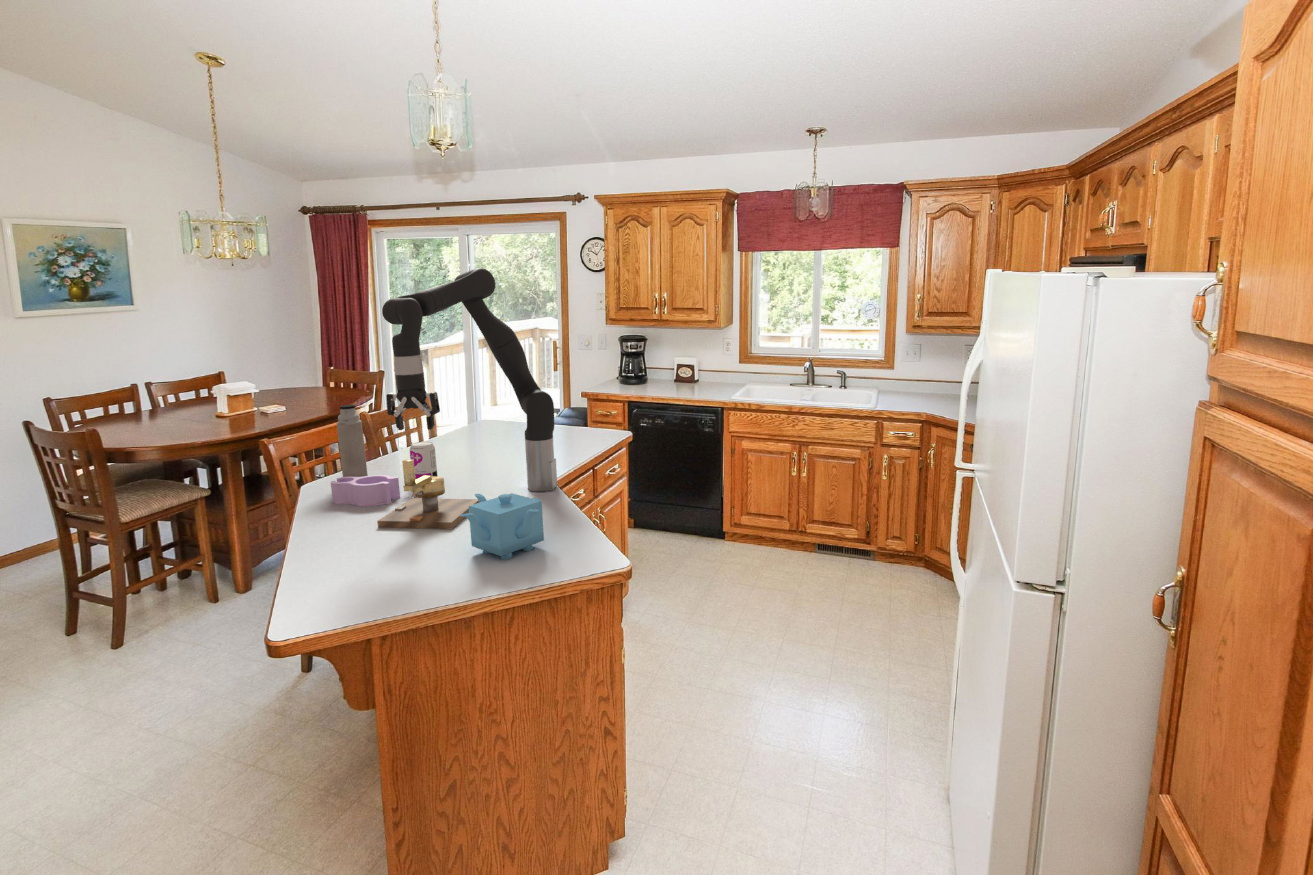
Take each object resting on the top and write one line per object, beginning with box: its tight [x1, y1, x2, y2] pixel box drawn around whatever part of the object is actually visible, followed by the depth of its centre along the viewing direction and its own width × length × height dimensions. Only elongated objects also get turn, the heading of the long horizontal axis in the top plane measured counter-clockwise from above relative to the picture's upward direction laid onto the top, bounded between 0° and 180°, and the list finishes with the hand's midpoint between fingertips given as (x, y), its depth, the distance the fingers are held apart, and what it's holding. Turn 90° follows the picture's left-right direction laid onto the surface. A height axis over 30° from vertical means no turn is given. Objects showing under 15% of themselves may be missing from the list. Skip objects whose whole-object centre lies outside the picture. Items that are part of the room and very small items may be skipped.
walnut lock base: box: [377, 496, 479, 530], centre depth 212 cm, size 22×22×7 cm
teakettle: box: [460, 493, 545, 560], centre depth 182 cm, size 19×19×15 cm
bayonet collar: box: [401, 458, 446, 498], centre depth 207 cm, size 17×9×12 cm, turn 170°
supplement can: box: [409, 441, 439, 479], centre depth 243 cm, size 8×8×15 cm
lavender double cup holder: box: [330, 474, 401, 507], centre depth 230 cm, size 20×12×7 cm, turn 85°
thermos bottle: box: [336, 404, 369, 477], centre depth 246 cm, size 8×8×28 cm
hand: (415, 429), depth 200 cm, fingers open, 8 cm apart
